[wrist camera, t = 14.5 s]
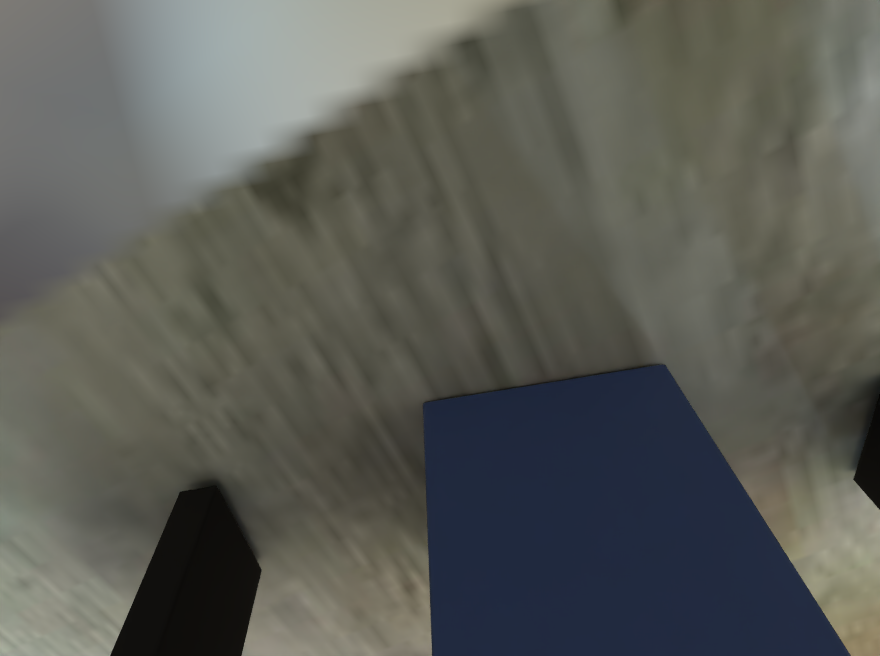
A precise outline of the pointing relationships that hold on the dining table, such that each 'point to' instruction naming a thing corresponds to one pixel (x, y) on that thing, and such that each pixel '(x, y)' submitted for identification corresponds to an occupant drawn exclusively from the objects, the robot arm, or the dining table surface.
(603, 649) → the blue block
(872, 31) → the dining table surface
